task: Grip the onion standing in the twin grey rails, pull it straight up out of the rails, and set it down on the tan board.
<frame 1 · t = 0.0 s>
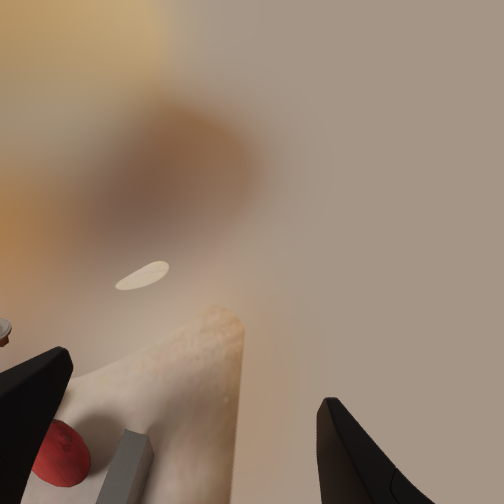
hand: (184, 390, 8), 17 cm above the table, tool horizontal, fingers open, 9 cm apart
onion: (72, 472, 13), on the table
screw: (2, 342, 24), on the table
twin grey rails: (71, 471, 13), on the table
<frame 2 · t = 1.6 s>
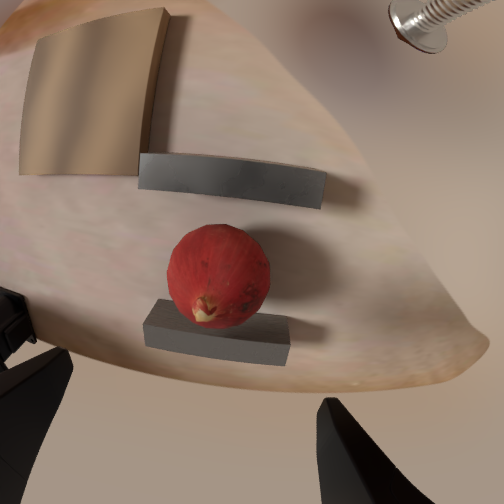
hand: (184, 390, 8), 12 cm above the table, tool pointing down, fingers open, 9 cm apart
onion: (226, 252, 19), on the table
screw: (406, 32, 13), on the table
tan board: (85, 95, 15), on the table
twin grey rails: (226, 253, 19), on the table
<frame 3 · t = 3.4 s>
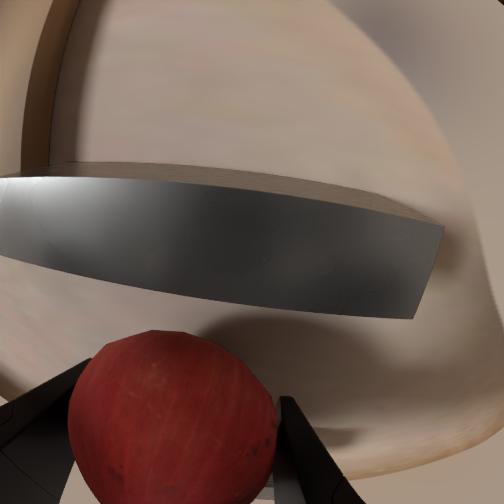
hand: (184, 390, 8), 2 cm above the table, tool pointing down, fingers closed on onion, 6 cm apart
onion: (197, 347, 10), on the table, touching gripper
twin grey rails: (196, 350, 10), on the table
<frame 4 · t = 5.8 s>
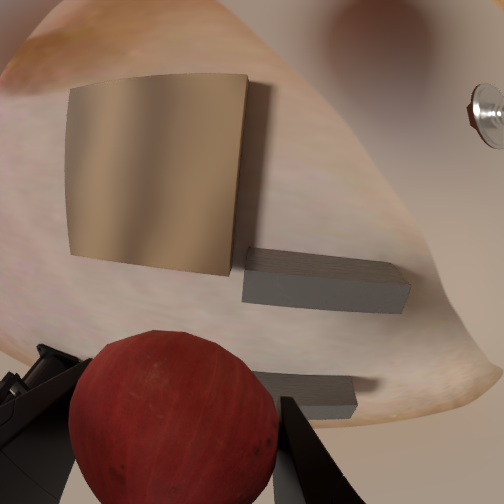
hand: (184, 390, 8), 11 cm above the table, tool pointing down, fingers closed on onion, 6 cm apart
onion: (198, 347, 10), point 9 cm above the table, touching gripper
screw: (476, 116, 14), on the table
tan board: (147, 170, 16), on the table
twin grey rails: (306, 334, 20), on the table
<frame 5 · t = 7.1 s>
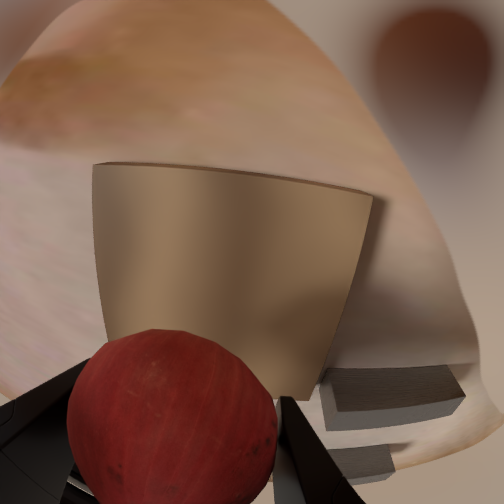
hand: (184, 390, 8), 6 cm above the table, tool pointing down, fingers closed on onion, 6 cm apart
onion: (197, 346, 10), point 4 cm above the table, touching gripper
tan board: (217, 291, 14), on the table
twin grey rails: (361, 423, 18), on the table
when the fingers open (5 cm above the table, at t = 8.3 s): onion drops 1 cm, resting on tan board.
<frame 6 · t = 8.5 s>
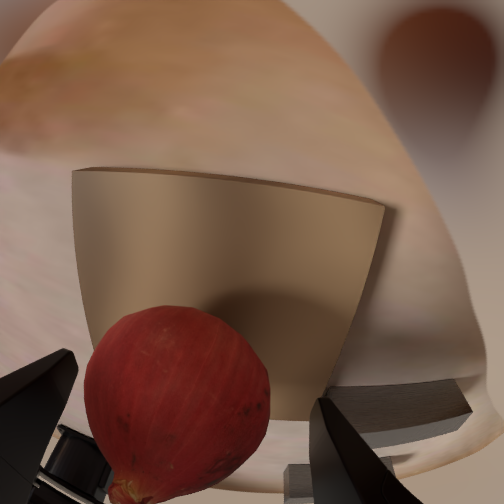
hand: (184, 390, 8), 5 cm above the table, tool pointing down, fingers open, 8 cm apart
onion: (205, 327, 11), point 1 cm above the table, touching tan board
tan board: (210, 309, 13), on the table
twin grey rails: (363, 438, 16), on the table
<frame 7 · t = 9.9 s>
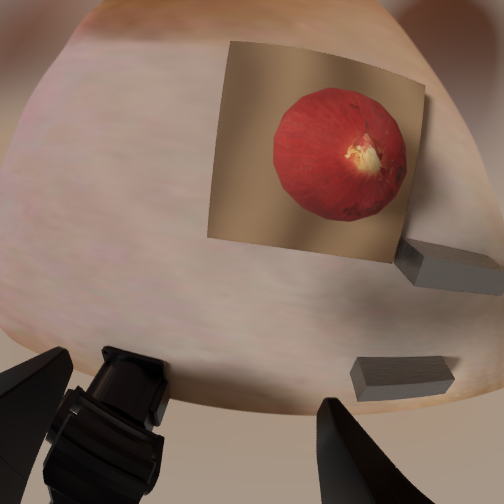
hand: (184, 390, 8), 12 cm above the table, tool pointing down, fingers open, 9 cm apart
onion: (323, 151, 15), point 1 cm above the table, touching tan board
tan board: (319, 151, 16), on the table
twin grey rails: (423, 318, 20), on the table
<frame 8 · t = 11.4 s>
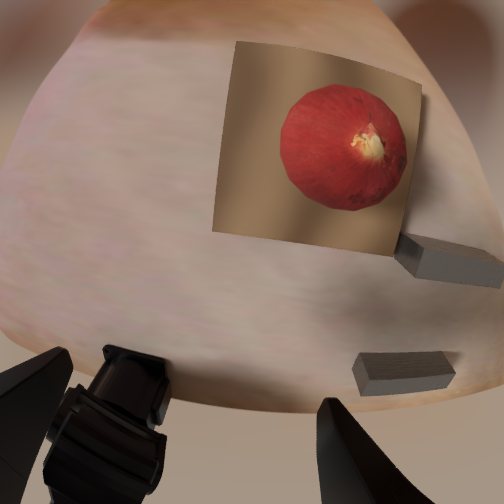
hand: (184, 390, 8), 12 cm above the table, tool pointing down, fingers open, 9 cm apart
onion: (325, 147, 15), point 1 cm above the table, touching tan board
tan board: (320, 147, 16), on the table
twin grey rails: (423, 312, 20), on the table
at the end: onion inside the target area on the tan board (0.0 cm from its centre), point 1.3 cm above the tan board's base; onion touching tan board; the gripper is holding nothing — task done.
